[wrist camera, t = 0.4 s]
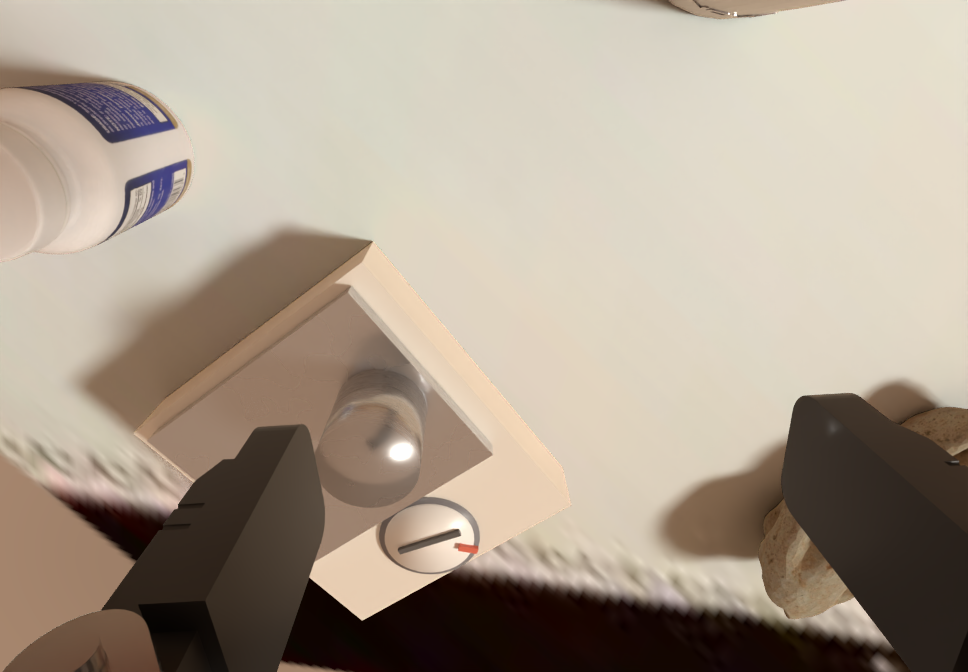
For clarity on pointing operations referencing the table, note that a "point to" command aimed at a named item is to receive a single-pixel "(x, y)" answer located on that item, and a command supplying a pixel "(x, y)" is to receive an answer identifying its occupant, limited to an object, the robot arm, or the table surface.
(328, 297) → the scale housing
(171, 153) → the pill bottle
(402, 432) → the cylinder
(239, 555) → the robot arm
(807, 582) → the sculpture
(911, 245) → the table surface
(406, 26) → the table surface
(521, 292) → the table surface
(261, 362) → the scale pan
